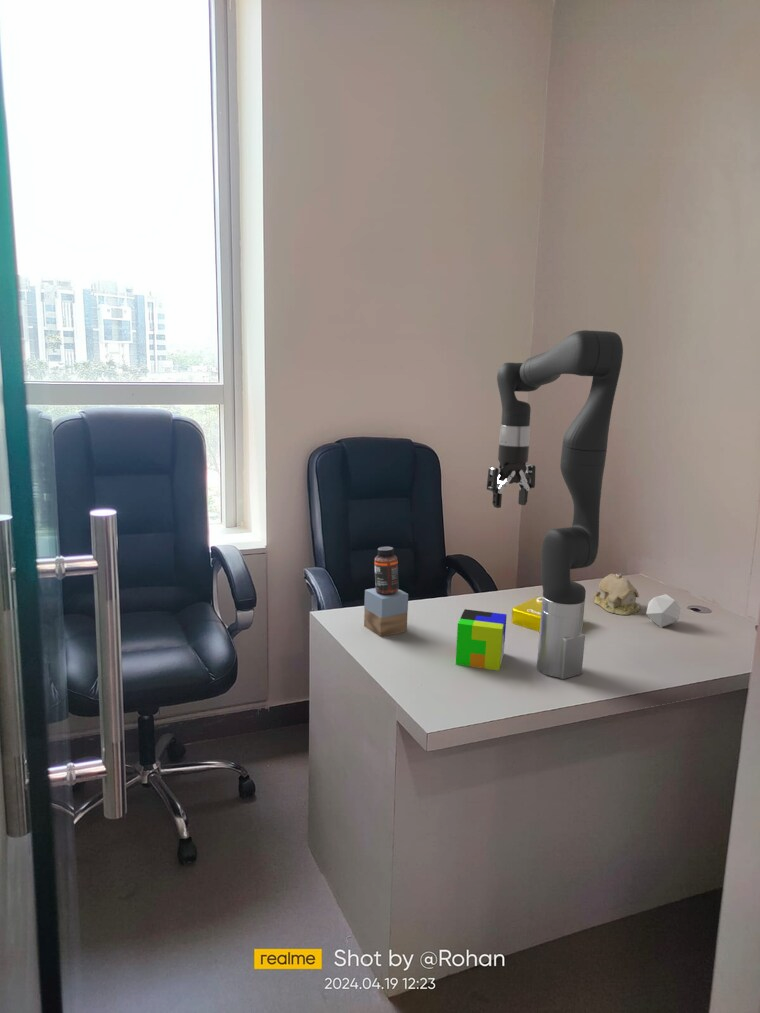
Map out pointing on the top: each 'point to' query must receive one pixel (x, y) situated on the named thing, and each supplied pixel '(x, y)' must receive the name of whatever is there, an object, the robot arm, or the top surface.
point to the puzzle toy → (481, 639)
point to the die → (663, 610)
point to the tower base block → (385, 623)
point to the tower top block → (386, 603)
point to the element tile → (528, 614)
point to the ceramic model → (617, 595)
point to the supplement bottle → (386, 571)
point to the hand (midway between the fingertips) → (509, 506)
